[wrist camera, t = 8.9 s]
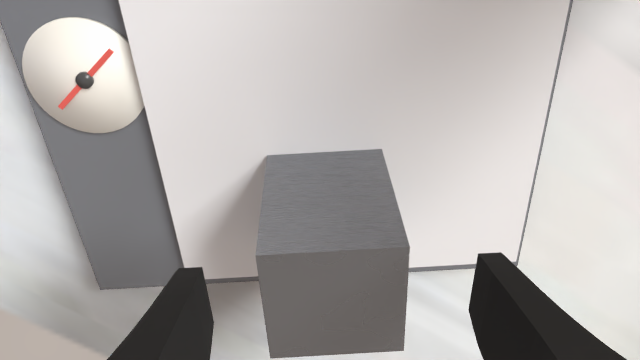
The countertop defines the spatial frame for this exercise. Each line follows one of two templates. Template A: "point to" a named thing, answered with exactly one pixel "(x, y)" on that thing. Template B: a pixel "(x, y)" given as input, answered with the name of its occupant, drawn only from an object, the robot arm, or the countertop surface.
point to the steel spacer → (331, 255)
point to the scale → (285, 118)
